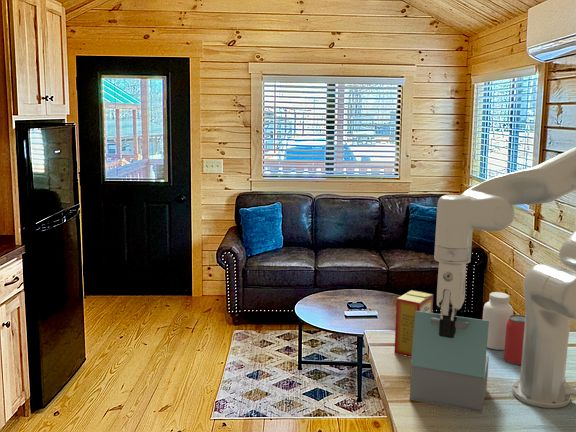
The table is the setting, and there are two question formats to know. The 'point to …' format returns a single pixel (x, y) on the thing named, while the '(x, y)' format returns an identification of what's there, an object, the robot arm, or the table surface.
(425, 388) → the carton
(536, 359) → the robot arm
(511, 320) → the beer can
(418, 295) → the baking soda box
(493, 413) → the table surface
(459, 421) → the table surface
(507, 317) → the pill bottle
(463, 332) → the lid
